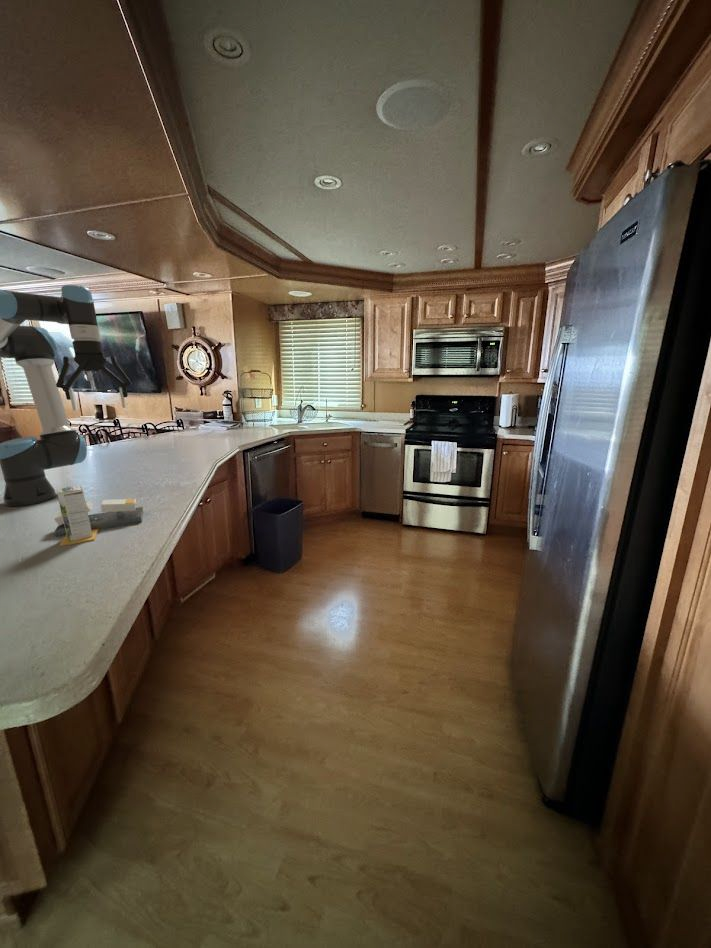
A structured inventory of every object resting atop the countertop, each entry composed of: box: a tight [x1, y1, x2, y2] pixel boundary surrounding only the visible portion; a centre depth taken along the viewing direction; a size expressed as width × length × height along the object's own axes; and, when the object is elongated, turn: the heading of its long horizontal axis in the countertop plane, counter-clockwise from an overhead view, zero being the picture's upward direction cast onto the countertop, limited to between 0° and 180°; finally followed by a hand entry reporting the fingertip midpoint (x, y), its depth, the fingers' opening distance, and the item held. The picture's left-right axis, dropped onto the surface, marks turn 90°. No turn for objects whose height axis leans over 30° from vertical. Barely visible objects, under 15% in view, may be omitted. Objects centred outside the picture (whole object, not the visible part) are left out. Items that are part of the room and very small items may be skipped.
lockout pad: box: [59, 529, 100, 547], centre depth 109 cm, size 8×8×1 cm
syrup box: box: [56, 485, 93, 542], centre depth 107 cm, size 6×6×14 cm
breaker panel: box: [54, 506, 144, 537], centre depth 118 cm, size 10×22×4 cm, turn 116°
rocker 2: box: [100, 498, 137, 513], centre depth 120 cm, size 5×9×3 cm, turn 116°
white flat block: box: [53, 499, 94, 526], centre depth 115 cm, size 5×9×2 cm, turn 116°
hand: (100, 408), depth 123 cm, fingers open, 13 cm apart
